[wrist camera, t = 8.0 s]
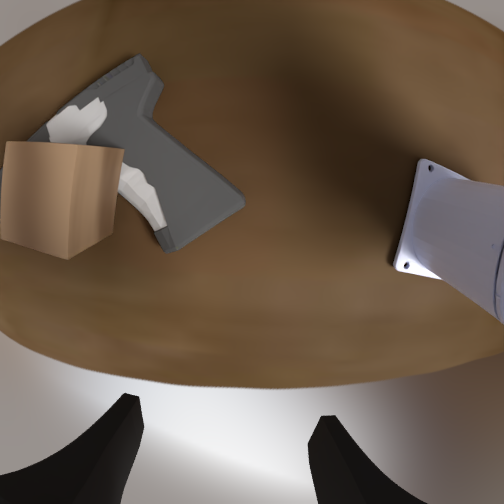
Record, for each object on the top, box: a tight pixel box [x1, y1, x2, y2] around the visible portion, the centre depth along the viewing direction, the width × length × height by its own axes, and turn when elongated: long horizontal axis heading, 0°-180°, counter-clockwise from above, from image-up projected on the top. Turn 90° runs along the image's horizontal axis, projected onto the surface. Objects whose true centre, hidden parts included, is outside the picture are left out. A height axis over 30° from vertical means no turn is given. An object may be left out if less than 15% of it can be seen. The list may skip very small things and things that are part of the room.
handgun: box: [0, 53, 246, 253], centre depth 16 cm, size 2×18×12 cm
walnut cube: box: [0, 141, 125, 260], centre depth 12 cm, size 5×5×5 cm
